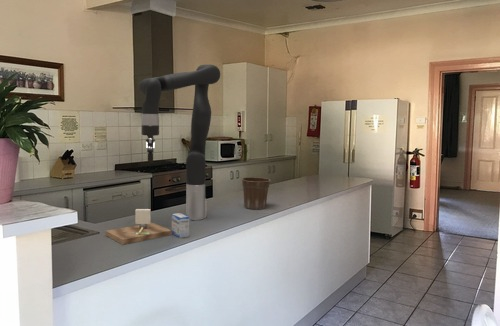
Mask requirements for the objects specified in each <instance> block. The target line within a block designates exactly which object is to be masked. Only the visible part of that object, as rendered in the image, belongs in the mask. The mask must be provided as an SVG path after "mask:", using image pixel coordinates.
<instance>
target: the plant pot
mask: <svg viewBox="0 0 500 326" xmlns="http://www.w3.org/2000/svg"><path fill="white" fill-rule="evenodd" d="M241 181H242V187H243V188H242V189H243V207H244V208H245V209H248V210H257V209H258V210H264V209H266V208H267V200H268V199H267V198H268V192H269V188H270V182H271V181H272V180H271V179H270V178H266V177H258V176H257V177H252V176H251V177H243V178H241Z"/></svg>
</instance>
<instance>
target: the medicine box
mask: <svg viewBox="0 0 500 326" xmlns="http://www.w3.org/2000/svg"><path fill="white" fill-rule="evenodd" d="M171 230H172V235H174V237H175V236H176V237H177V238H180V239H181V238H188V237H190V220H189V217H188V216H186V214H183V213H181V212H178V213H172V214H171Z"/></svg>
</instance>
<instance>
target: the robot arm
mask: <svg viewBox="0 0 500 326" xmlns="http://www.w3.org/2000/svg"><path fill="white" fill-rule="evenodd" d="M220 79H221V71H220V68H218V66H216V65H214V64H200V65H199V66H198V67H197V68H196V70H193V71H186V72H184V71H183V72H175V73H170V74H165V75H161V76H156V77H147V78H144V79H142V80H140V82H139V85H138V87H139V90H140V92H141V93H142V94H143V95H145V99H144V100H143V101H142V104H141V135H142V136H147V138H146V139H145V144H146V145H145V147H146V148H145V149H146V152H147V163H153V162H154V151H155V144H156V139H154V136H159V135H160V117H159V109H160V108H159V103H160V100H161V94H162V92H169V91H173V90H174V91H175V90H178V89H182V88H186V87H187V88H188V87H191V86H194V96H193V97H194V99H193V105H192V106H193V107H192V112H191V123H190V137H191V139H190V145H189V151H188V154H187V157H186V160H185V161H186V162H185V174H186V175H185V179H186V180H185V181H186V185H185V186H186V189H185V191H186V193H185V194H186V195H185V197H186V198H185V201H186V202H185V205H186V206H185V210H186V211H185V212H186V213H185V215H186V216H188V217H189V221H199V220H204V219H206V218H207V216H208V215H207V212H208V211H207V209H208V208H207V207H208V206H207V205H208V202H207V198H206V165H207V164H206V144H207V143H206V142H207V138H208V135H209V131H210V126H211V121H212V108H211V105H210V104H211V103H210V100H209V85H215V84H216V83H218V81H219V80H220Z"/></svg>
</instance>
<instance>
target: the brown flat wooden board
mask: <svg viewBox="0 0 500 326" xmlns="http://www.w3.org/2000/svg"><path fill="white" fill-rule="evenodd" d="M139 231H140V228H139V224H136V225H133V226H127V227H121V228H113V229H108V230H105V236H106V237H108V238H109V239H111V240H113V241H115V242H117V243H119V244H121V245H122V246H123V245H128V244H133V243H134V244H135V243H138V242H144V241H149V240H154V239H159V238H163V237H169V236H172V235H173V234H172V229H169V228H167V227H164V226H162V225H160V224H156V223H154V222H151V223H150V224H147V228H146V229H143V230H142V232H141V233H140V234H138V232H139Z"/></svg>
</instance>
